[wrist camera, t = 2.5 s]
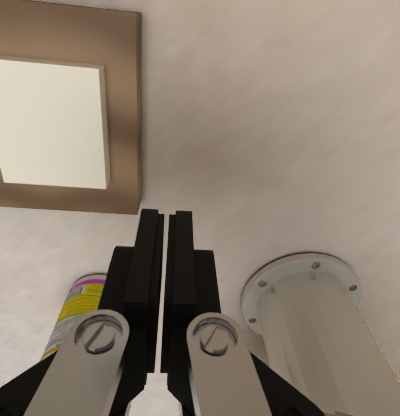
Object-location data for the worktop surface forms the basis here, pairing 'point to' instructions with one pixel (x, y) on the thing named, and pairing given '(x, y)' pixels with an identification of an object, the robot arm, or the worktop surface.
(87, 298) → the supplement bottle
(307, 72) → the worktop surface
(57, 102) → the tile
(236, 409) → the robot arm
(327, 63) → the worktop surface
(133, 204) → the brown wooden flat block
